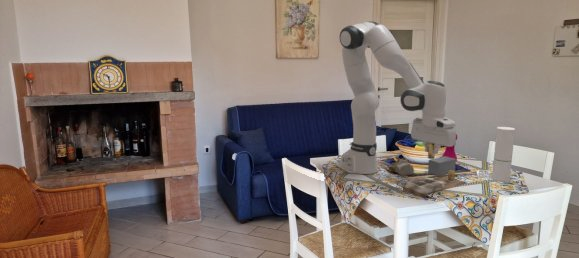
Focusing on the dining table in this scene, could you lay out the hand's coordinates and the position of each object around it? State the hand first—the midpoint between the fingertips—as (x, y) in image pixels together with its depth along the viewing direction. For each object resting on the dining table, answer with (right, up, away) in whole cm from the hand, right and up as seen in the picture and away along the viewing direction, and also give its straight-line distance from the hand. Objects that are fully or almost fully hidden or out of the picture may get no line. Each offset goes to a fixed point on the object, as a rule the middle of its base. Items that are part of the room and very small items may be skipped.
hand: (431, 152), depth 172 cm
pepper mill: (+22, -10, +37) cm, 44 cm away
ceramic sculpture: (-5, -12, +26) cm, 29 cm away
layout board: (+4, -16, +6) cm, 17 cm away
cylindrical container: (+36, -14, +13) cm, 41 cm away
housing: (+13, -12, +23) cm, 29 cm away
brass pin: (0, -2, 0) cm, 2 cm away
